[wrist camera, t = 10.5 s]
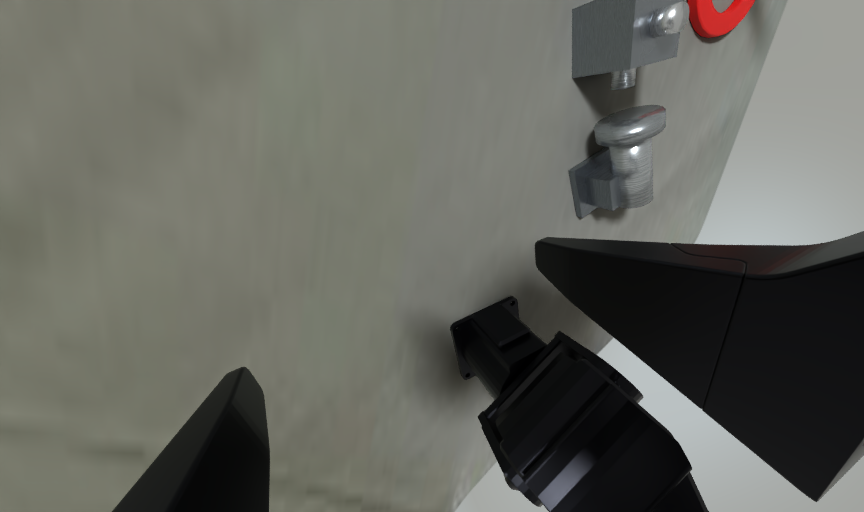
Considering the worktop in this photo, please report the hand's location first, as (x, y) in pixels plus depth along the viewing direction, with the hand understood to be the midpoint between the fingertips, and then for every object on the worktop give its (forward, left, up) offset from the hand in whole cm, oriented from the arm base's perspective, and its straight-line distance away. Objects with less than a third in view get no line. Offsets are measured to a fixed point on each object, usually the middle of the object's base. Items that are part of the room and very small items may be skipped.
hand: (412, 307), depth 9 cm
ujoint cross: (+6, -20, -12) cm, 24 cm away
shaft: (-2, -21, -12) cm, 24 cm away
